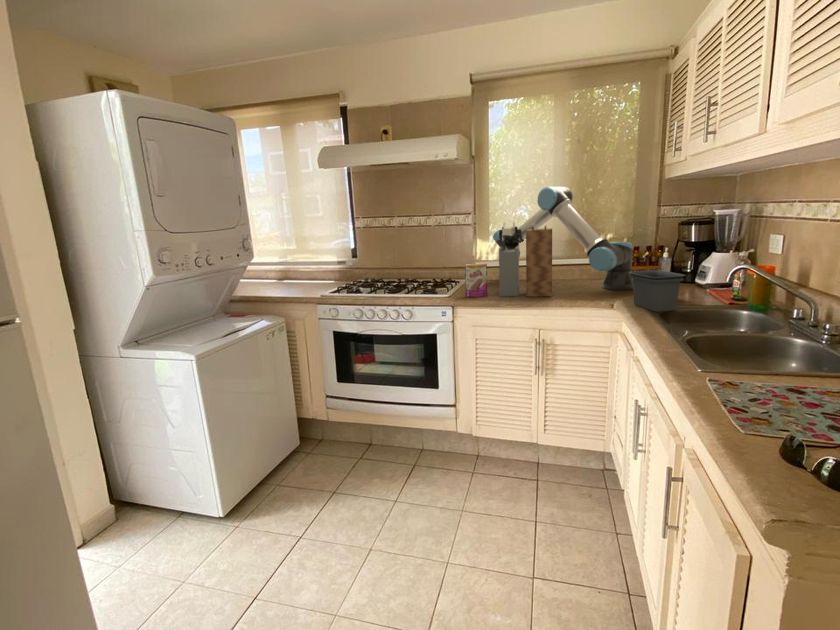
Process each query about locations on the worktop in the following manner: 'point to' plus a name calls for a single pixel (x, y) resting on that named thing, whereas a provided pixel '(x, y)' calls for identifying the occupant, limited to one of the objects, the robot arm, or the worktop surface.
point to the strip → (507, 231)
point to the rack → (509, 272)
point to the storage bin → (656, 289)
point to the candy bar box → (476, 280)
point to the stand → (539, 262)
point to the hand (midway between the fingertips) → (508, 225)
